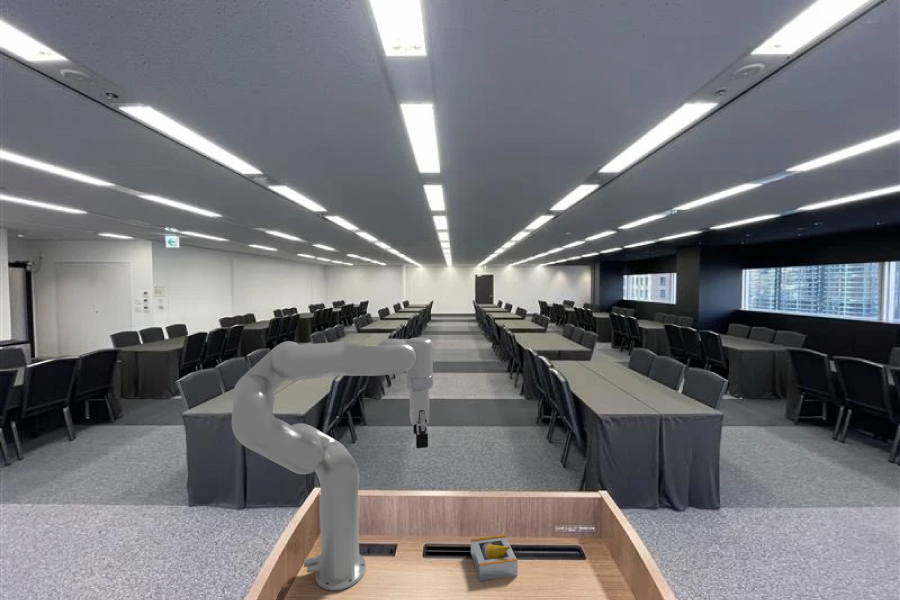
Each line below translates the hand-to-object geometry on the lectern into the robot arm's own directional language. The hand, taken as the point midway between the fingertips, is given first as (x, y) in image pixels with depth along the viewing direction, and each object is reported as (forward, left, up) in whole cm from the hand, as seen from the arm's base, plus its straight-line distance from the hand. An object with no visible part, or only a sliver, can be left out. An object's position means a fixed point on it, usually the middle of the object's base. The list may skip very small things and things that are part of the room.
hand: (420, 440), depth 112 cm
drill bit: (+18, -13, -30) cm, 37 cm away
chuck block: (+18, -12, -30) cm, 37 cm away
